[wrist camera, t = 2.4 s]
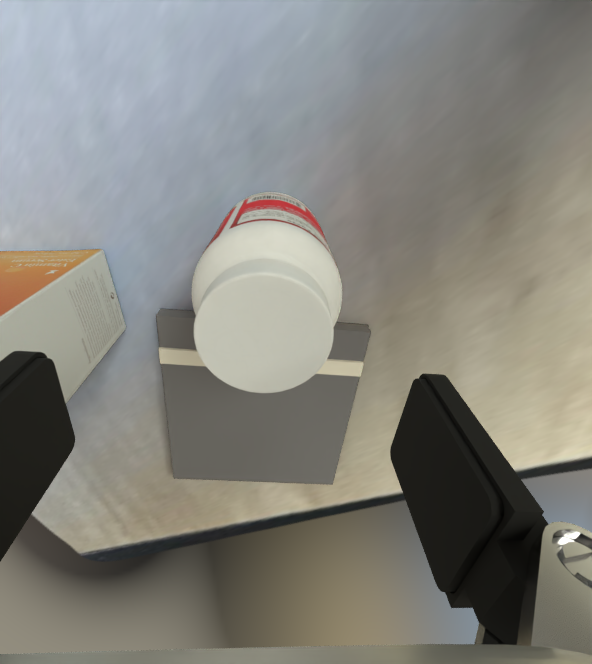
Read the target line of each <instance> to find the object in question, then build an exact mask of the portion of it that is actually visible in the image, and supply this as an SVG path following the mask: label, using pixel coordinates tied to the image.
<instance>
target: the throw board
mask: <svg viewBox="0 0 592 664" xmlns="http://www.w3.org/2000/svg"><path fill="white" fill-rule="evenodd" d="M195 317H196V315H195V312H194V311H185V310H173V309H160V310H159V312H158V313H157V315H156V320H157V330H158V339H159V358H160V364H161V366H162V376H163V385H164V394H165V403H166V412H167V422H168V431H169V440H170V449H171V458H172V468H173V477H174V478H177V479H202V480H228V481H254V482H279V483H305V484H331V485H333V481H334V477H335V473H336V469H337V465H338V461H339V457H340V453H341V449H342V445H343V441H344V437H345V433H346V429H347V425H348V421H349V417H350V413H351V409H352V405H353V401H354V397H355V393H356V389H357V385H358V381H359V377H361V373H362V369H363V365H364V357H365V353H366V349H367V345H368V341H369V337H370V333H371V331H370V329H369V327H368V325H363V324H350V323H338V322H336V324H335V326H334V328H333V329H334V337H333V344H332V348H331V351H330V354H329V356H328V358H327V360H326V362H325V363H324V365H323V366H322V367H321V368H320V370H319V371H318V372H317V373H316V374H315V375H314V376H312V377H311V378H310V379H309V380H307V381H306V382H304V383H302V384H300V385H298V386H296V387H294V388H292V389H288V390H285V391H281V392H275V393H255V392H248V391H244V390H241V389H238V388H235V387H232V386H230V385H228V384H227V383H225V382H223V381H222V380H220V379H219V378H217V377H216V376H215V375H214V374H213V373H212V372H211V371H210V370H209V369H208V368H207V367H206V366H205V364H204V363H203V361H202V360H201V358H200V356H199V354H198V351H197V349H196V345H195V341H194V321H195Z"/></svg>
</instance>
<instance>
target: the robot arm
mask: <svg viewBox="0 0 592 664" xmlns="http://www.w3.org/2000/svg"><path fill="white" fill-rule="evenodd" d="M74 443H75V435H74V432H73V428H72V425H71V421H70V417H69V414H68V410H67V407H66V403H65V400H64V396H63V392H62V389H61V385H60V382H59V378H58V375H57V371H56V367H55V364H54V362H53V360H52V359H50V358H47V356H46V355H45V354H44V353H42V352H32V351H13V352H12V353H10V354H9V355H8V356H6V357H5V358H4V359H3V360H1V361H0V561H1V559H2V558H3V557H4V555H5V554H6V552H7V550H8V549H9V547H10V545H11V544H12V543H13V541H14V539H15V538H16V536H17V535H18V533H19V532H20V530H21V529H22V527H23V526H24V524H25V522H26V521H27V520H28V518H29V516H30V515H31V513H32V512H33V510H34V509H35V507H36V506H37V504H38V503H39V501H40V499H41V498H42V496H43V495H44V493H45V492H46V490H47V489H48V487H49V485H50V484H51V482H52V481H53V479H54V478H55V476H56V475H57V473H58V472H59V470H60V468H61V467H62V465H63V464H64V462H65V461H66V459H67V458H68V456H69V455H70V453H71V451H72V449H73V447H74ZM390 455H391V460H392V463H393V466H394V469H395V472H396V474H397V477H398V480H399V483H400V485H401V488H402V491H403V494H404V496H405V499H406V502H407V505H408V507H409V510H410V513H411V516H412V518H413V521H414V524H415V527H416V530H417V532H418V535H419V538H420V541H421V543H422V546H423V549H424V552H425V554H426V557H427V560H428V563H429V565H430V568H431V571H432V574H433V576H434V579H435V582H436V584H437V586H438V588H439V589H440V590H441V591H442V592H445V593H446V595H447V598H448V601H449V603H450V606H451V608H473V609H474V612H475V614H476V616H477V619H478V621H479V626H478V631H477V635H476V640H475V644H474V645H473V644H468V645H467V644H466V645H465V644H464V645H461V644H460V645H459V644H457V645H456V644H455V645H454V644H441V645H440V644H416V645H363V646H313V647H312V646H311V647H265V648H222V649H183V650H182V649H180V650H141V651H102V652H68V653H34V654H2V655H1V654H0V664H592V533H591V532H589V531H588V530H586V529H583V528H581V527H579V526H576V525H574V524H570V523H565V522H552V523H551V524H548V523H547V522H546V520H545V519H544V517H543V516H542V514H543V512H544V511H543V510H542V508H541V507H540V506H539V504H538V503H537V502H536V500H535V499H534V497H533V496H532V495H531V493H530V492H529V490H528V489H527V488H526V486H525V485H524V484H523V482H522V481H521V479H520V478H519V477H518V475H517V474H516V472H515V471H514V470H513V468H512V467H511V465H510V464H509V463H508V461H507V460H506V458H505V457H504V456H503V454H502V453H501V452H500V450H499V449H498V447H497V446H496V445H495V443H494V442H493V440H492V439H491V438H490V436H489V435H488V433H487V432H486V431H485V429H484V428H483V427H482V425H481V424H480V422H479V421H478V420H477V418H476V417H475V415H474V414H473V413H472V411H471V410H470V408H469V407H468V406H467V404H466V403H465V402H464V400H463V399H462V397H461V396H460V395H459V393H458V392H457V390H456V389H455V388H454V386H453V385H452V384H451V382H450V381H449V379H448V378H447V377H446V376H445V375H439V374H422V375H421V376H420V377H419V379H415V380H414V381H413V383H412V386H411V389H410V392H409V395H408V398H407V401H406V404H405V407H404V410H403V413H402V416H401V419H400V422H399V425H398V428H397V431H396V434H395V437H394V440H393V443H392V446H391V451H390Z"/></svg>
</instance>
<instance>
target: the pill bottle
mask: <svg viewBox="0 0 592 664" xmlns="http://www.w3.org/2000/svg"><path fill="white" fill-rule="evenodd" d="M191 292H192V304H193V308H194V312H195V315H196V317H195V321H194V341H195V345H196V349H197V351H198V354H199V356H200V358H201V360H202V361H203V363H204V364H205V366H206V367H207V368H208V369H209V370H210V371H211V372H212V373H213V374H214V375H215V376H216V377H217V378H219V379H220V380H222V381H223V382H225V383H227V384H228V385H230V386H232V387H235V388H238V389H241V390H244V391H248V392H255V393H275V392H281V391H285V390H288V389H292V388H294V387H296V386H298V385H300V384H302V383H304V382H306V381H307V380H309V379H310V378H311V377H312V376H314V375H315V374H316V373H317V372H318V371H319V370H320V368H321V367H322V366H323V365H324V363H325V362H326V360H327V358H328V356H329V354H330V351H331V348H332V344H333V337H334V329H333V328H334V326H335V324H336V322H337V319H338V317H339V314H340V310H341V305H342V294H343V293H342V283H341V279H340V275H339V271H338V267H337V265H336V262H335V260H334V258H333V256H332V253H331V251H330V249H329V246H328V244H327V241H326V239H325V237H324V234H323V232H322V230H321V227H320V225H319V223H318V221H317V219H316V218H315V216H314V215H313V213H312V212H311V211H310V210H309V209H308V208H307V207H306V206H305V205H304V204H303V203H302V202H300V201H299V200H297V199H295V198H293V197H291V196H289V195H286V194H282V193H277V192H263V193H258V194H254V195H251V196H249V197H247V198H245V199H244V200H242V201H240V202H239V203H238V204H236V205H235V206H234V207H233V208H232V209H231V211H230V212H229V213H228V214H227V216H226V217H225V219H224V220H223V222H222V224H221V225H220V227H219V229H218V230H217V232H216V234H215V235H214V237H213V238H212V240H211V242H210V243H209V245H208V246H207V248H206V249H205V251H204V252H203V254H202V256H201V258H200V260H199V262H198V264H197V267H196V270H195V273H194V276H193V281H192V290H191Z"/></svg>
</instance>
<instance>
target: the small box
mask: <svg viewBox="0 0 592 664" xmlns="http://www.w3.org/2000/svg"><path fill="white" fill-rule="evenodd" d="M125 329H126V324H125V321H124V318H123V314H122V311H121V308H120V304H119V301H118V297H117V294H116V291H115V288H114V284H113V281H112V278H111V274H110V271H109V267H108V264H107V260H106V257H105V254H104V251H103V250H102V249H93V250H72V251H0V361H1V360H3V359H4V358H5V357H6V356H8V355H9V354H10V353H12V352H13V351H32V352H42V353H44V354H45V355H46V356H47V358H50V359H52V360H53V362H54V364H55V367H56V371H57V375H58V378H59V382H60V385H61V389H62V392H63V396H64V400H65V403H67V402H68V401H69V400H70V398H71V397H72V396H73V394H74V393H75V392H76V391H77V389H78V388H79V387H80V386H81V384H82V383H83V382H84V381H85V379H86V378H87V377H88V376H89V374H90V373H91V372H92V371H93V369H94V368H95V367H96V365H97V364H98V363H99V362H100V361H101V359H102V358H103V357H104V355H105V354H106V353H107V352H108V350H109V349H110V348H111V347H112V345H113V344H114V343H115V342H116V340H117V339H118V338H119V337H120V335H121V334H122V333H123V332H124V330H125Z"/></svg>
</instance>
